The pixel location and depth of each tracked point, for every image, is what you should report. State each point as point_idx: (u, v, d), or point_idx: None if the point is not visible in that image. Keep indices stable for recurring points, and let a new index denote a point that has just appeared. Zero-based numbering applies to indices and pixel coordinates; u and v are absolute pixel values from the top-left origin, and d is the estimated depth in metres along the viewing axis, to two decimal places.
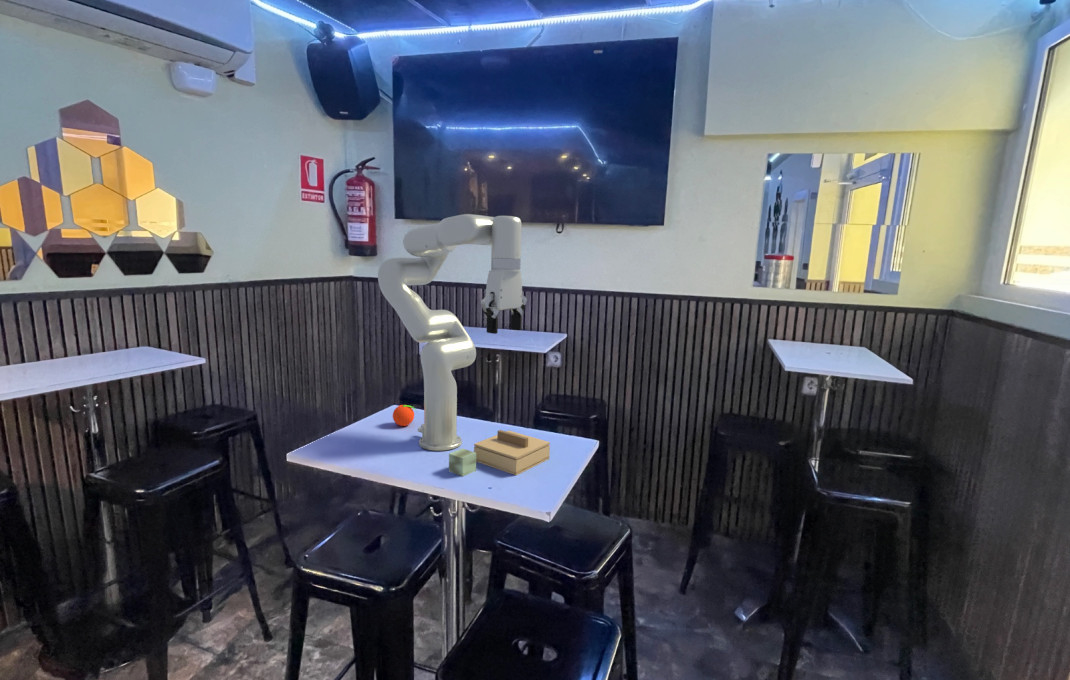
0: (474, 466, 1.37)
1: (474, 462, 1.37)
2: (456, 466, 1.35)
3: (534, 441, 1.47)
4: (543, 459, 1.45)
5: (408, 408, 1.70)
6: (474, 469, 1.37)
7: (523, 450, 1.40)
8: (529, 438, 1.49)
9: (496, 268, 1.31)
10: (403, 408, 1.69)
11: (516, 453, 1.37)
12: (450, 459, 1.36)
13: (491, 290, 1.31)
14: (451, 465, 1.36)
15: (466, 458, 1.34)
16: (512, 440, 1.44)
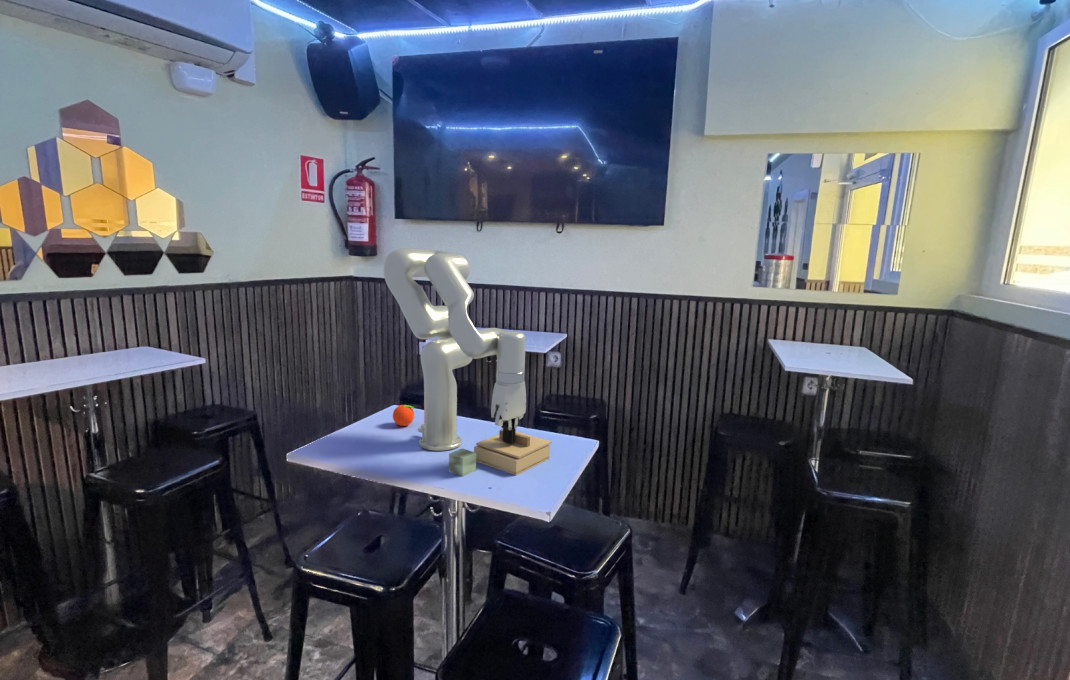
0: (474, 466, 1.37)
1: (474, 462, 1.37)
2: (456, 466, 1.35)
3: (536, 440, 1.47)
4: (543, 459, 1.45)
5: (408, 408, 1.70)
6: (474, 469, 1.37)
7: (525, 449, 1.40)
8: (531, 437, 1.50)
9: (501, 382, 1.38)
10: (403, 408, 1.69)
11: (518, 452, 1.38)
12: (450, 459, 1.36)
13: (497, 403, 1.38)
14: (451, 465, 1.36)
15: (466, 457, 1.34)
16: None
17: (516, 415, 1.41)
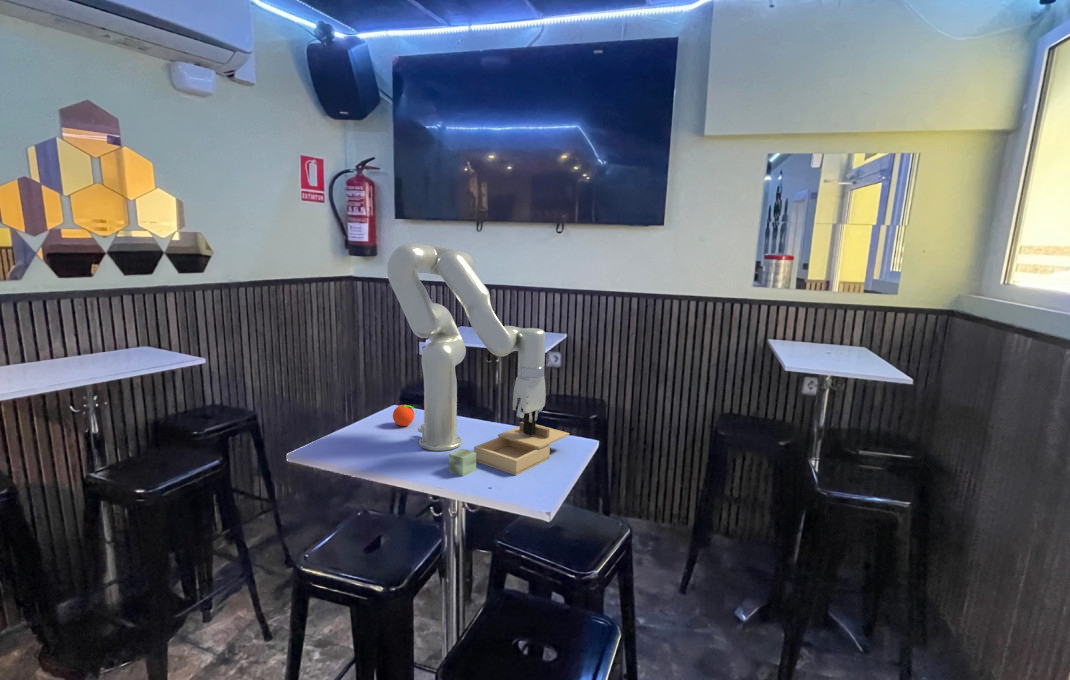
0: (474, 466, 1.37)
1: (474, 462, 1.37)
2: (456, 466, 1.35)
3: (554, 432, 1.55)
4: (543, 459, 1.45)
5: (408, 408, 1.70)
6: (474, 469, 1.37)
7: (545, 440, 1.48)
8: (549, 429, 1.57)
9: (523, 376, 1.45)
10: (403, 408, 1.69)
11: (539, 443, 1.45)
12: (450, 459, 1.36)
13: (518, 396, 1.45)
14: (451, 465, 1.36)
15: (466, 457, 1.34)
16: None
17: (536, 408, 1.49)
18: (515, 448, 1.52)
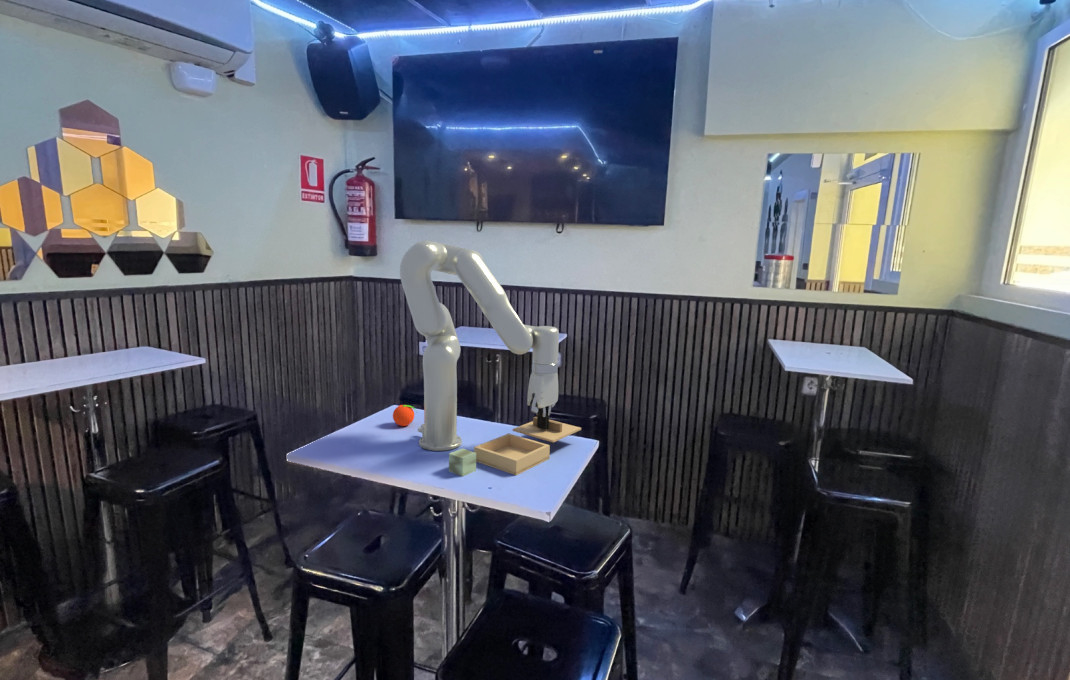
0: (474, 466, 1.37)
1: (474, 462, 1.37)
2: (456, 466, 1.35)
3: (567, 427, 1.60)
4: (543, 459, 1.45)
5: (408, 408, 1.70)
6: (474, 469, 1.37)
7: (558, 434, 1.53)
8: (562, 424, 1.62)
9: (537, 372, 1.51)
10: (403, 408, 1.69)
11: (552, 437, 1.51)
12: (450, 459, 1.36)
13: (533, 392, 1.51)
14: (451, 465, 1.36)
15: (466, 457, 1.34)
16: None
17: (550, 403, 1.54)
18: (515, 448, 1.52)
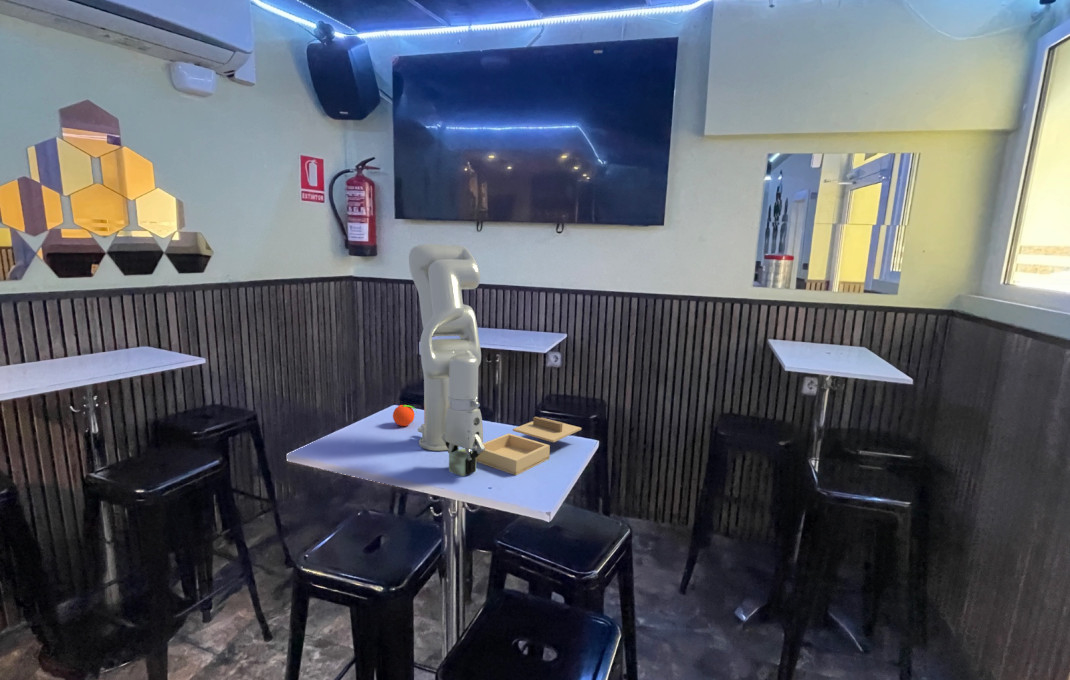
0: None
1: None
2: (456, 466, 1.35)
3: (567, 427, 1.60)
4: (543, 459, 1.45)
5: (408, 408, 1.70)
6: (475, 469, 1.37)
7: (558, 434, 1.53)
8: (562, 424, 1.62)
9: None
10: (403, 408, 1.69)
11: (552, 437, 1.51)
12: (450, 459, 1.36)
13: None
14: (451, 465, 1.36)
15: (466, 457, 1.34)
16: (547, 425, 1.58)
17: (458, 444, 1.34)
18: (515, 448, 1.52)
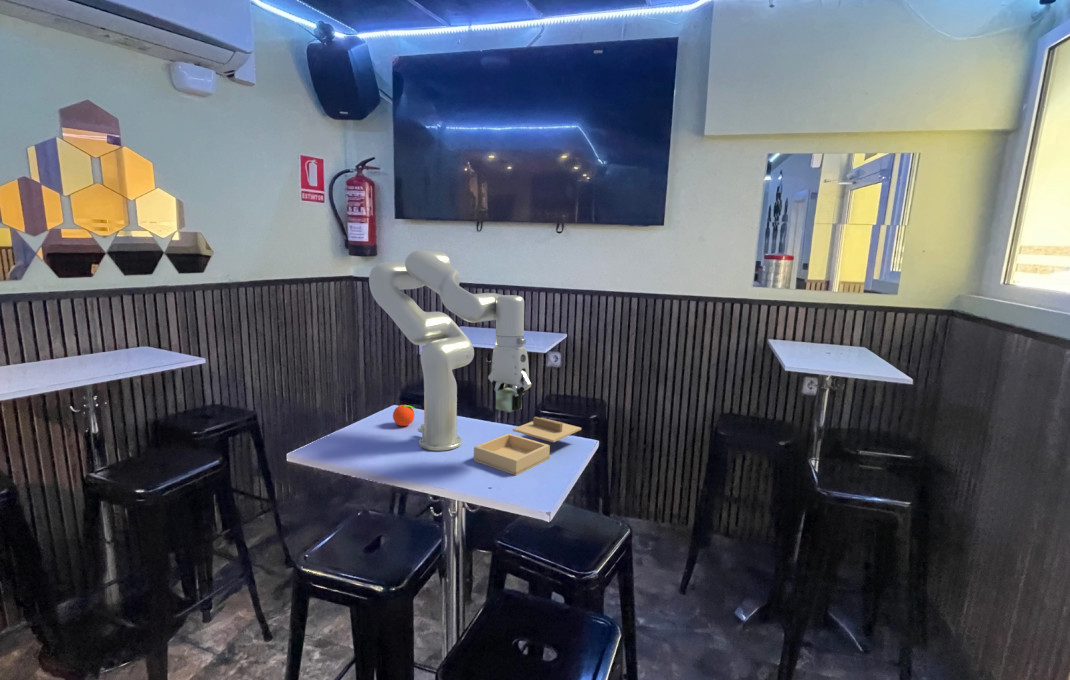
0: None
1: None
2: (503, 403, 1.40)
3: (567, 427, 1.60)
4: (543, 459, 1.45)
5: (408, 408, 1.70)
6: None
7: (558, 434, 1.53)
8: (562, 424, 1.62)
9: None
10: (403, 408, 1.69)
11: (552, 437, 1.51)
12: (497, 396, 1.41)
13: None
14: (498, 402, 1.41)
15: (513, 394, 1.39)
16: (547, 425, 1.58)
17: (505, 380, 1.39)
18: (515, 448, 1.52)
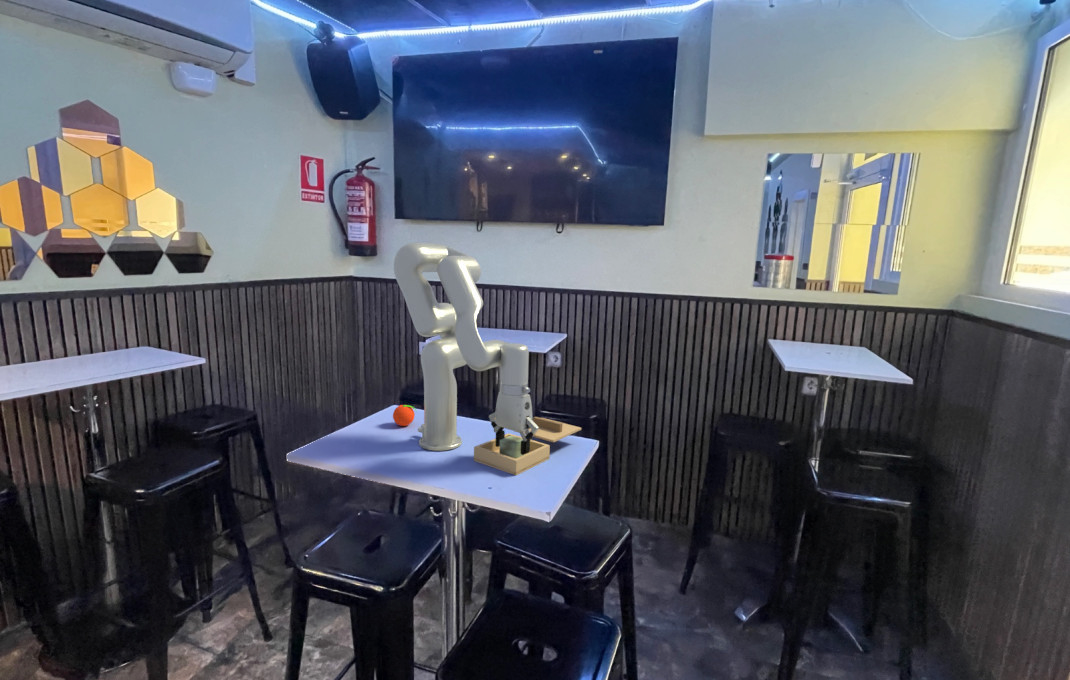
0: None
1: None
2: (507, 452, 1.43)
3: (567, 427, 1.60)
4: (543, 459, 1.45)
5: (408, 408, 1.70)
6: None
7: (558, 434, 1.53)
8: (562, 424, 1.62)
9: None
10: (403, 408, 1.69)
11: (552, 437, 1.51)
12: (501, 445, 1.44)
13: None
14: (502, 451, 1.44)
15: (517, 444, 1.43)
16: (547, 425, 1.58)
17: (509, 427, 1.42)
18: None
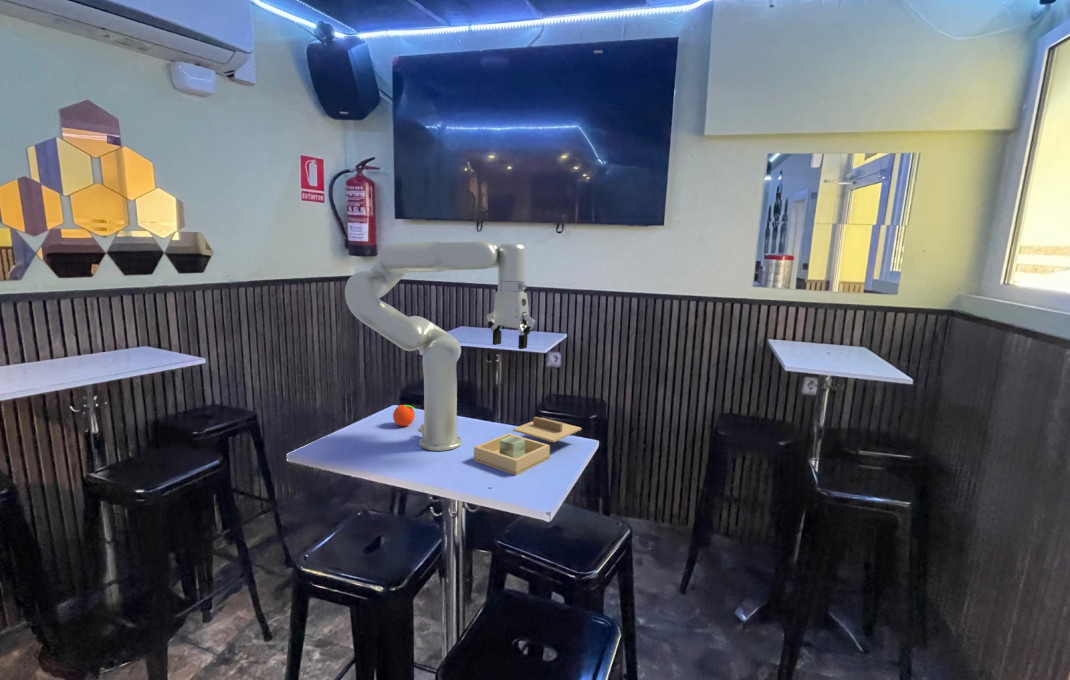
0: (523, 452, 1.45)
1: (523, 448, 1.45)
2: (507, 452, 1.43)
3: (567, 427, 1.60)
4: (543, 459, 1.45)
5: (408, 408, 1.70)
6: None
7: (558, 434, 1.53)
8: (562, 424, 1.62)
9: None
10: (403, 408, 1.69)
11: (552, 437, 1.51)
12: (501, 445, 1.44)
13: None
14: (502, 451, 1.44)
15: (517, 444, 1.43)
16: (547, 425, 1.58)
17: (506, 324, 1.49)
18: None
